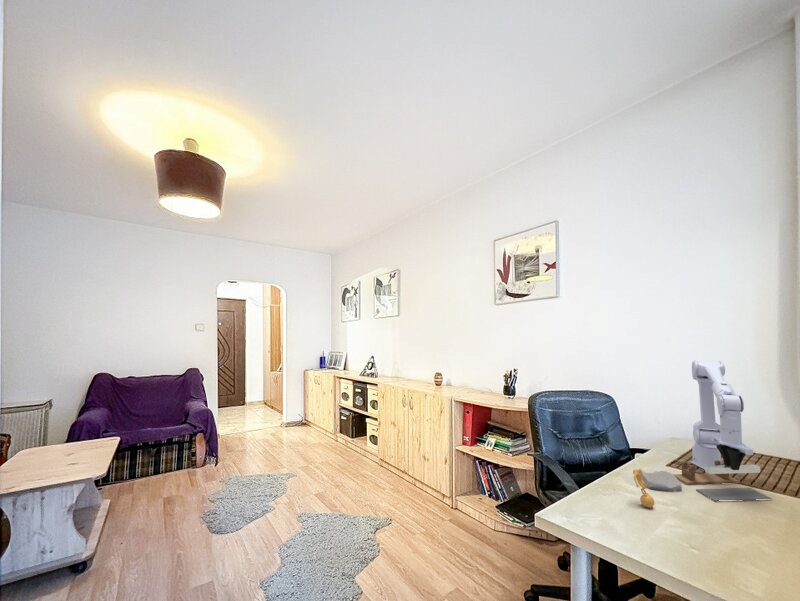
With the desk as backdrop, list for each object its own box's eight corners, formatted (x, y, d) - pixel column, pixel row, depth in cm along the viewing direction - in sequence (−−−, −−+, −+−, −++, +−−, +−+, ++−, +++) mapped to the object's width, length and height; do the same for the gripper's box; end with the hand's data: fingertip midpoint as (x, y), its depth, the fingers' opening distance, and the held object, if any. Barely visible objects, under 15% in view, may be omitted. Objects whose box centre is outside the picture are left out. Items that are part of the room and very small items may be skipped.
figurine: (650, 513, 125) (648, 476, 125) (629, 506, 130) (628, 470, 130) (658, 504, 130) (657, 468, 131) (638, 498, 135) (637, 463, 135)
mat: (696, 490, 139) (696, 489, 139) (750, 489, 140) (750, 487, 140) (714, 502, 131) (714, 500, 131) (772, 500, 132) (772, 498, 132)
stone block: (685, 497, 139) (668, 479, 149) (686, 485, 138) (669, 468, 148) (650, 497, 140) (636, 479, 150) (651, 485, 139) (636, 468, 149)
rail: (709, 473, 135) (709, 468, 135) (705, 471, 137) (704, 465, 137) (760, 472, 135) (760, 466, 135) (754, 470, 137) (754, 464, 137)
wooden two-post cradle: (686, 485, 144) (686, 467, 144) (672, 477, 151) (672, 460, 151) (739, 483, 144) (738, 466, 145) (723, 475, 151) (722, 459, 152)
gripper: (702, 423, 143) (704, 460, 143) (737, 436, 129) (739, 477, 129) (721, 422, 143) (723, 459, 143) (758, 435, 129) (760, 476, 129)
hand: (732, 468), depth 136 cm, fingers closed on rail, 2 cm apart
